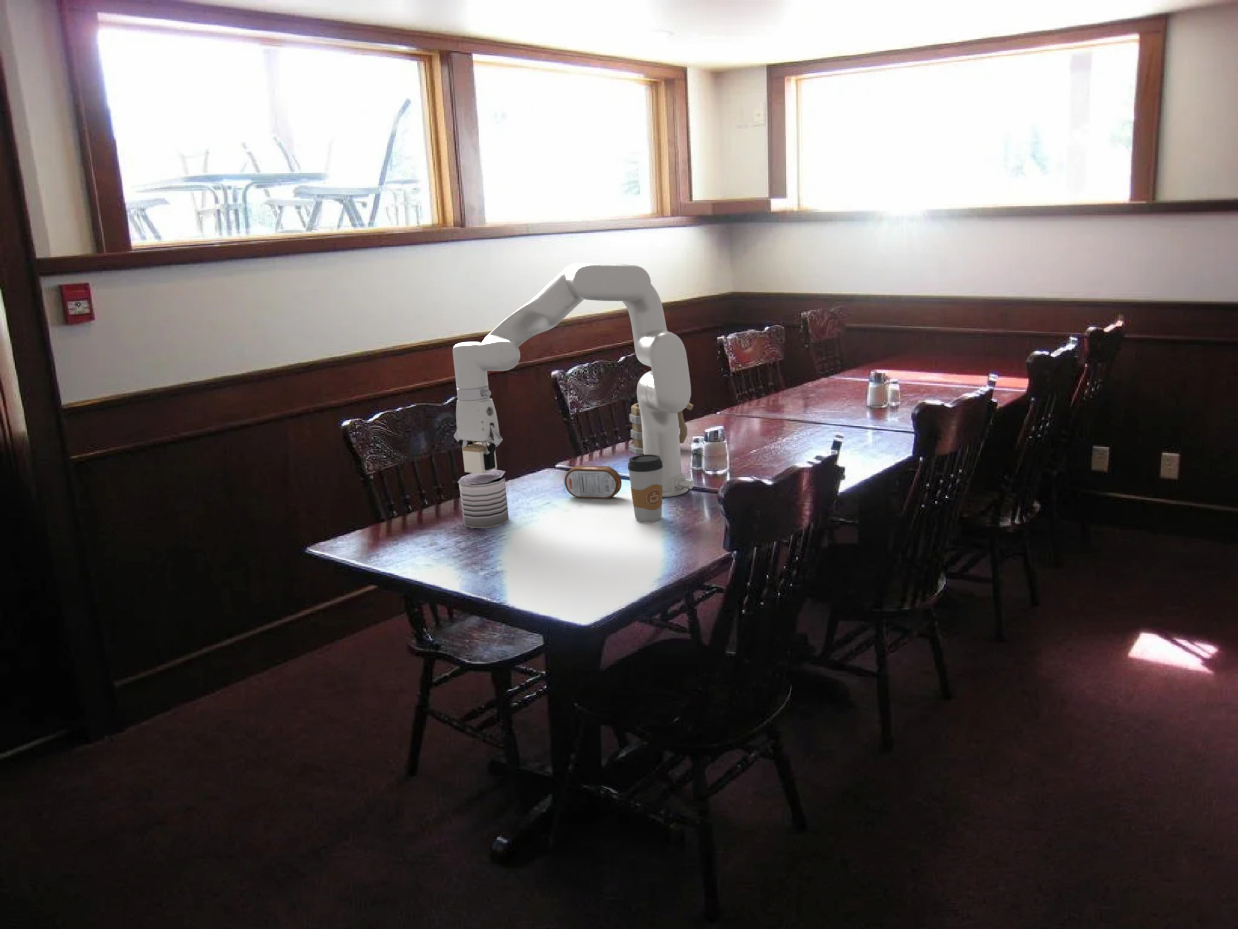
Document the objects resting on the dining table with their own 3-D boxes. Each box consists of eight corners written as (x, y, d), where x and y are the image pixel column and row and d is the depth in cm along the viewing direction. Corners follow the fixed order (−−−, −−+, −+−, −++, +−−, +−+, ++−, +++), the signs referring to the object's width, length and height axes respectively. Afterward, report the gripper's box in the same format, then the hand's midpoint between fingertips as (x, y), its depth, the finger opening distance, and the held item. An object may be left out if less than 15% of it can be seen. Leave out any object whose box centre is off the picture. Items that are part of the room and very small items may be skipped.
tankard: (624, 454, 321) (621, 405, 318) (639, 444, 332) (636, 397, 329) (687, 456, 314) (685, 405, 310) (700, 446, 325) (698, 397, 321)
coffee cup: (641, 526, 249) (637, 464, 246) (625, 518, 256) (620, 457, 253) (672, 519, 253) (668, 458, 249) (655, 511, 260) (651, 452, 256)
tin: (623, 497, 275) (620, 465, 273) (619, 500, 272) (616, 468, 270) (568, 495, 280) (566, 464, 278) (564, 498, 277) (561, 467, 275)
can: (506, 527, 256) (501, 479, 253) (459, 530, 256) (454, 482, 253) (511, 514, 267) (507, 467, 264) (466, 516, 267) (461, 470, 264)
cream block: (497, 468, 259) (494, 443, 257) (481, 474, 254) (478, 449, 253) (480, 466, 262) (477, 442, 261) (464, 471, 258) (461, 447, 256)
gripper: (510, 392, 252) (517, 467, 256) (458, 389, 262) (465, 461, 266) (489, 398, 246) (496, 474, 250) (436, 395, 256) (444, 468, 260)
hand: (480, 467), depth 258 cm, fingers closed on cream block, 5 cm apart
